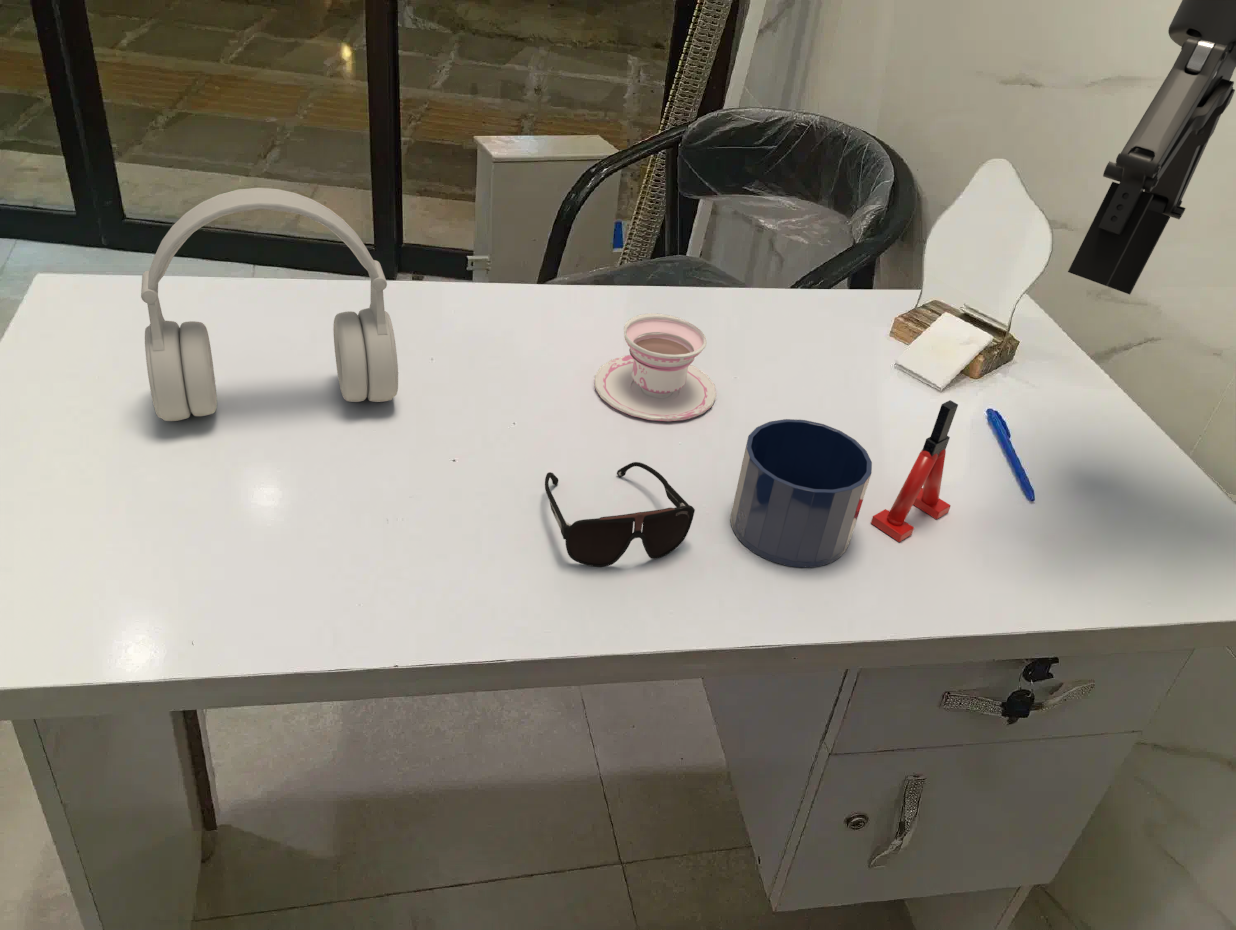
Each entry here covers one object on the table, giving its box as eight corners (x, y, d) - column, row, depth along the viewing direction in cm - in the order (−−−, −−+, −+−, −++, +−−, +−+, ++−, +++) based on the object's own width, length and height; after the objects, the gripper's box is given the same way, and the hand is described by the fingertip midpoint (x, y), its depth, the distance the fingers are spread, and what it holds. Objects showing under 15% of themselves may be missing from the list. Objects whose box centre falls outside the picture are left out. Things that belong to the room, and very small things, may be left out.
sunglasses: (568, 581, 74) (571, 523, 71) (526, 500, 83) (527, 448, 81) (698, 560, 77) (705, 505, 75) (643, 486, 87) (647, 435, 84)
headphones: (386, 370, 95) (379, 173, 84) (401, 418, 89) (396, 212, 78) (159, 389, 89) (118, 178, 77) (158, 442, 82) (114, 220, 71)
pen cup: (872, 538, 82) (897, 465, 78) (795, 584, 76) (817, 508, 72) (784, 478, 88) (802, 406, 83) (706, 517, 82) (721, 442, 78)
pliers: (948, 512, 86) (991, 400, 79) (899, 542, 82) (940, 426, 75) (919, 494, 88) (959, 383, 81) (870, 523, 84) (907, 408, 77)
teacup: (739, 410, 96) (750, 354, 92) (631, 434, 91) (639, 375, 87) (675, 351, 104) (683, 298, 101) (573, 369, 99) (578, 314, 95)
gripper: (1202, 27, 81) (1078, 276, 87) (1179, -83, 60) (1019, 254, 67) (1302, 51, 77) (1165, 307, 84) (1315, -57, 57) (1131, 295, 63)
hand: (1100, 284), depth 75 cm, fingers open, 13 cm apart
